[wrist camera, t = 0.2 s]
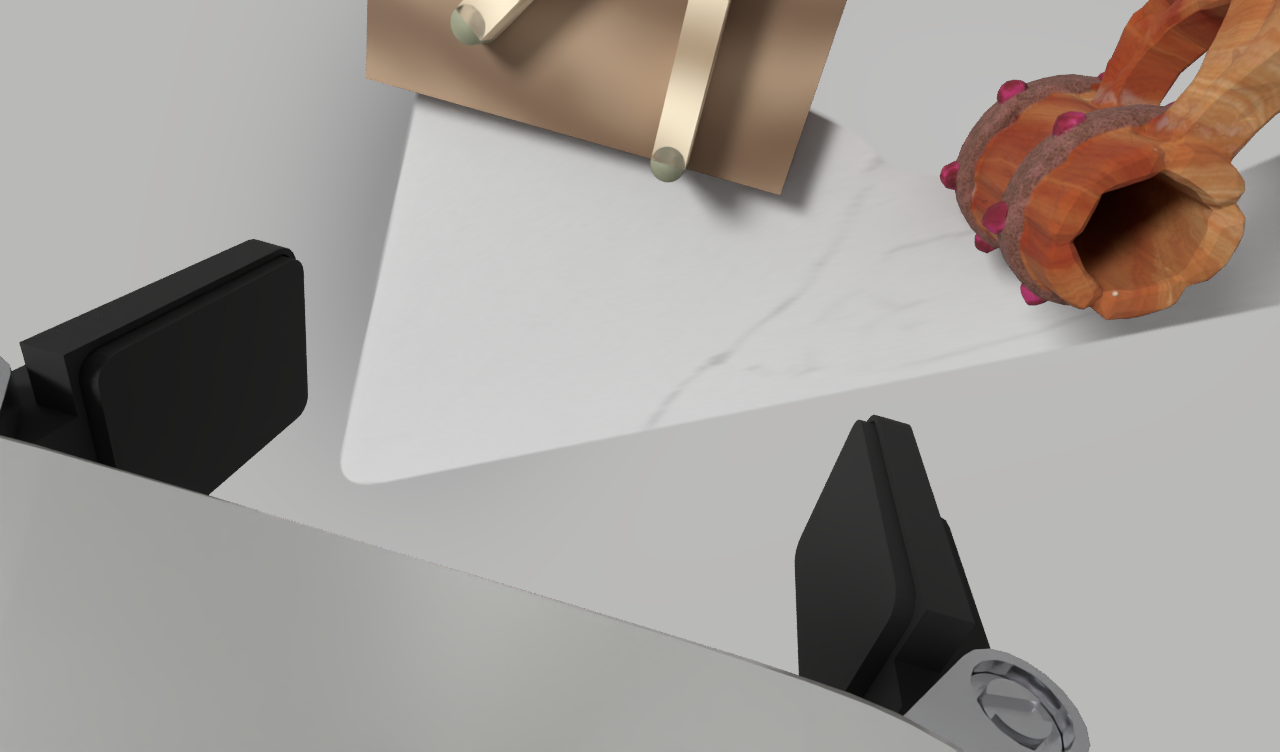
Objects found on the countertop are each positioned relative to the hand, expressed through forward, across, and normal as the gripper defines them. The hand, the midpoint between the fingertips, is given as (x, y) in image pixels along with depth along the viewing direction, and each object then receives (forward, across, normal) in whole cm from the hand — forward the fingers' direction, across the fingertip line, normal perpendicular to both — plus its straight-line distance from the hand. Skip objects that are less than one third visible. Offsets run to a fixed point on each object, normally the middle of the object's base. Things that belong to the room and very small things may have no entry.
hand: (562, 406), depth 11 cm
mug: (+31, -17, -5) cm, 36 cm away
